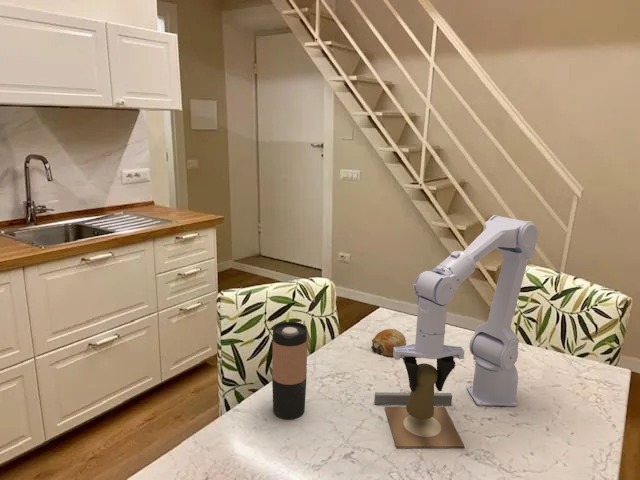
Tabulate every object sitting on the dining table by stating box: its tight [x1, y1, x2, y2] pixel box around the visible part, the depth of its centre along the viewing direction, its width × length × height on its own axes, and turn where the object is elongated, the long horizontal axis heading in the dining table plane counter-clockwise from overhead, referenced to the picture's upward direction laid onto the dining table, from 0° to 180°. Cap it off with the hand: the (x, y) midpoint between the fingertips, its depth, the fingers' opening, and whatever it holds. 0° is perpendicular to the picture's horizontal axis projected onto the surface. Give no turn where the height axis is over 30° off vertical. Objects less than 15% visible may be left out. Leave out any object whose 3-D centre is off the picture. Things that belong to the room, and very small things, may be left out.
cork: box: [405, 362, 438, 420], centre depth 101 cm, size 6×6×11 cm
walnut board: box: [384, 405, 466, 449], centre depth 102 cm, size 14×14×1 cm
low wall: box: [374, 391, 453, 406], centre depth 111 cm, size 18×1×2 cm, turn 92°
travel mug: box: [271, 321, 308, 420], centre depth 105 cm, size 8×8×20 cm
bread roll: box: [371, 328, 407, 358], centre depth 138 cm, size 10×10×8 cm
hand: (425, 388), depth 100 cm, fingers closed on cork, 5 cm apart
